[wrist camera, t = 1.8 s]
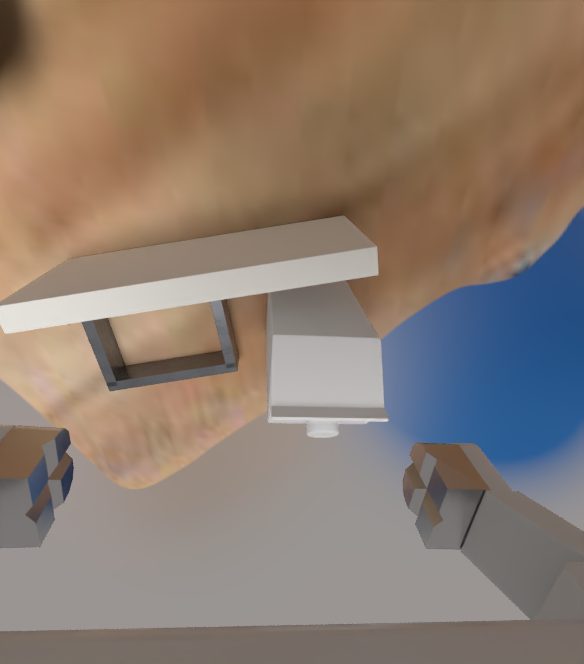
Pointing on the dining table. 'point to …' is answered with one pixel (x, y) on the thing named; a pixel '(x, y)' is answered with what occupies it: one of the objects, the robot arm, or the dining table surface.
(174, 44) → the dining table surface
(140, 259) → the wall board
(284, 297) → the milk carton
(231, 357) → the cleat bracket
